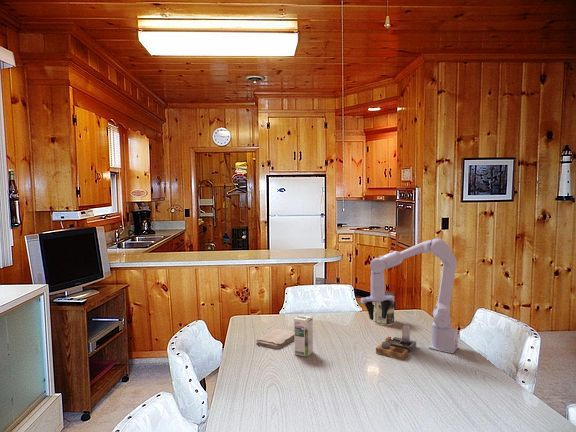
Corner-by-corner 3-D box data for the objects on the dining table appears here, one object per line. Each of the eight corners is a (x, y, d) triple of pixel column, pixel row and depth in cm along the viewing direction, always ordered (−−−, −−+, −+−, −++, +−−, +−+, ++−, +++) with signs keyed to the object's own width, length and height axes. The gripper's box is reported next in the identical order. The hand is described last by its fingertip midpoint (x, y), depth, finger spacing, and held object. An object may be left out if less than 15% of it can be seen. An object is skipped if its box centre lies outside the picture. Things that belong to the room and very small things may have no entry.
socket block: (416, 346, 156) (416, 341, 156) (409, 353, 150) (409, 347, 150) (395, 341, 162) (395, 336, 162) (387, 348, 156) (387, 342, 155)
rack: (408, 355, 148) (408, 345, 148) (403, 360, 144) (403, 349, 144) (381, 349, 154) (381, 339, 154) (375, 353, 151) (375, 343, 150)
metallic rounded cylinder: (410, 348, 155) (410, 326, 155) (408, 350, 153) (408, 328, 152) (403, 346, 157) (403, 324, 157) (400, 348, 155) (400, 326, 154)
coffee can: (391, 318, 192) (391, 291, 192) (396, 325, 182) (396, 296, 181) (370, 319, 193) (370, 291, 192) (375, 325, 182) (374, 296, 182)
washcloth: (254, 345, 161) (254, 338, 161) (277, 332, 177) (277, 325, 177) (278, 351, 155) (278, 343, 155) (299, 336, 171) (299, 330, 171)
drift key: (399, 345, 158) (399, 339, 158) (396, 347, 156) (396, 341, 156) (388, 342, 161) (388, 336, 161) (385, 345, 159) (385, 338, 158)
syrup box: (294, 354, 150) (293, 318, 150) (300, 349, 156) (300, 314, 155) (307, 357, 148) (306, 320, 147) (313, 351, 153) (313, 316, 152)
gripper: (365, 290, 156) (365, 323, 156) (398, 287, 159) (398, 320, 160) (358, 286, 163) (358, 317, 163) (389, 284, 166) (389, 315, 166)
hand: (377, 318), depth 162 cm, fingers open, 5 cm apart
